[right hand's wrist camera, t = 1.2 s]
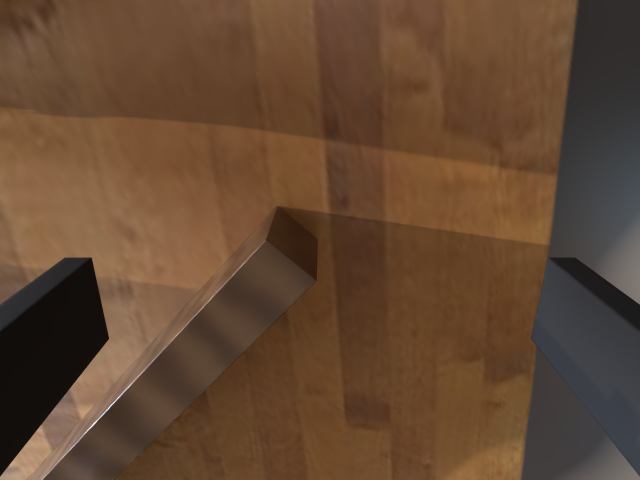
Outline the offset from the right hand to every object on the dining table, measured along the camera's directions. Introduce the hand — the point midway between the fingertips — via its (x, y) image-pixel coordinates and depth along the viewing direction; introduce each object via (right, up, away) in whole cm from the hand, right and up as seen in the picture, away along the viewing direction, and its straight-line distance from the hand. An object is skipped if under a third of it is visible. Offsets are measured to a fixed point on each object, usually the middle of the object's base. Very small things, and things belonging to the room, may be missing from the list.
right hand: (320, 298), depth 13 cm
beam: (-20, -15, +34) cm, 42 cm away
